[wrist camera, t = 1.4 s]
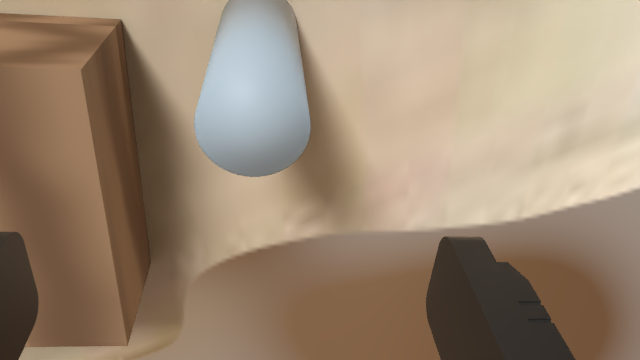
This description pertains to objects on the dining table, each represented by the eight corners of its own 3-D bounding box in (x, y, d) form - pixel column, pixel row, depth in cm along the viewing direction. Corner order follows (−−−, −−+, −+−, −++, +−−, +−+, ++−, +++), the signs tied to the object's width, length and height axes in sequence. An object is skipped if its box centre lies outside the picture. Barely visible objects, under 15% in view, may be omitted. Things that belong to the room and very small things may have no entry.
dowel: (298, -11, 24) (314, 75, 15) (294, 64, 25) (307, 178, 17) (219, -15, 23) (191, 70, 15) (221, 61, 25) (197, 175, 17)
